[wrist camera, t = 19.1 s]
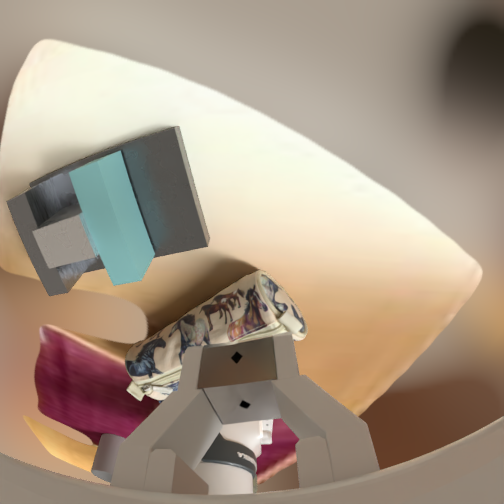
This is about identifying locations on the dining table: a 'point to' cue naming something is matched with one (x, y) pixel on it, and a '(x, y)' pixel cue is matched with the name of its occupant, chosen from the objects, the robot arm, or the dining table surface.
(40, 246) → the steel block
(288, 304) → the pencil case
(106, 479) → the cup
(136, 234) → the bar
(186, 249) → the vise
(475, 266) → the dining table surface
